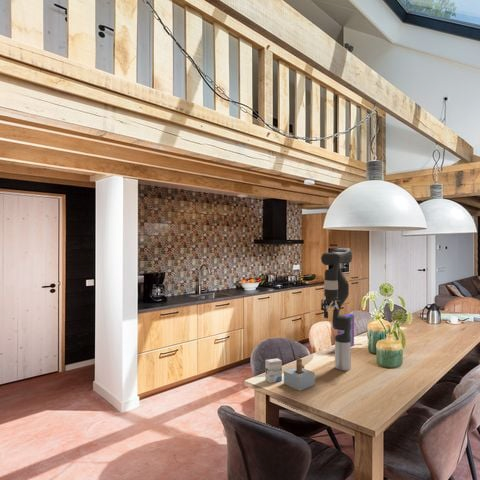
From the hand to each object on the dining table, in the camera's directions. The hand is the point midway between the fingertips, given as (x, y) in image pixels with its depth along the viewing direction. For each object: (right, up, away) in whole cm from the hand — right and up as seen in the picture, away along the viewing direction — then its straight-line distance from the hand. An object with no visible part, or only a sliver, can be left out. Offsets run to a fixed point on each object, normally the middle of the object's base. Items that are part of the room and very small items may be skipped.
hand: (331, 317), depth 197 cm
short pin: (-14, -38, +12) cm, 42 cm away
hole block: (-18, -38, -1) cm, 42 cm away
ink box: (-32, -38, +5) cm, 50 cm away
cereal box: (+29, -38, +70) cm, 85 cm away
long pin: (-18, -38, -1) cm, 42 cm away
